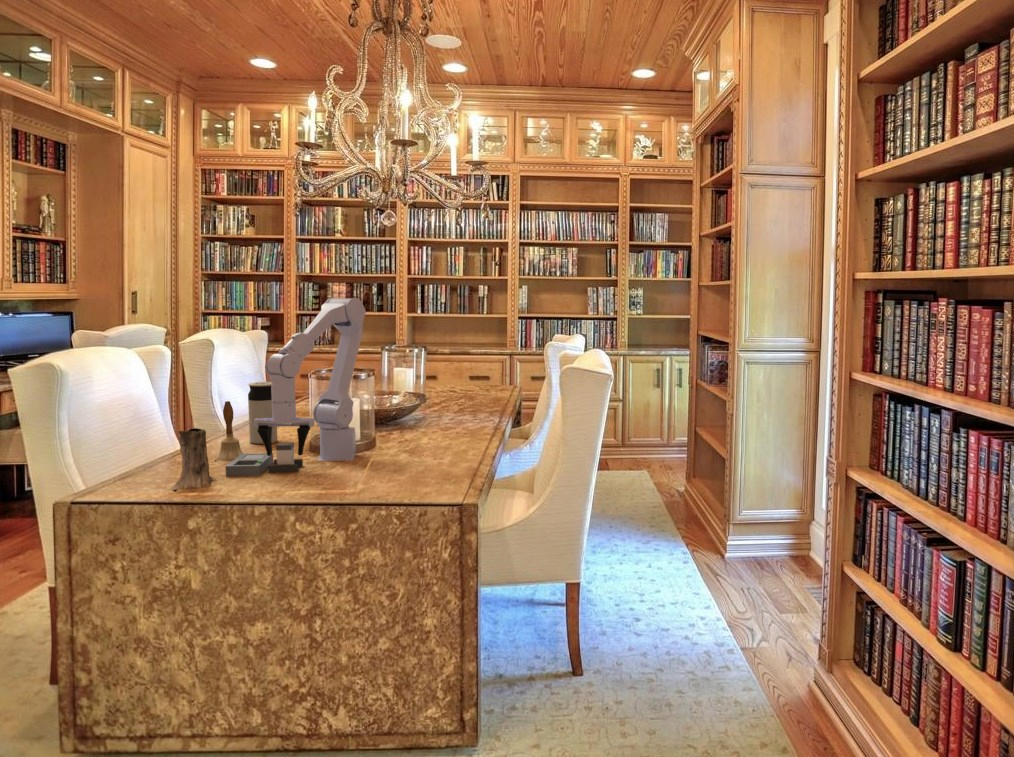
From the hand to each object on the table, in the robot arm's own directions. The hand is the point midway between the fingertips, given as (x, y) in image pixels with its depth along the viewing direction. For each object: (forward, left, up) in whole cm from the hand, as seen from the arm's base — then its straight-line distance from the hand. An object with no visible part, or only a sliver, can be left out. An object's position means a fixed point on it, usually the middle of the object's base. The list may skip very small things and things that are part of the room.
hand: (285, 454), depth 182 cm
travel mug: (+15, -38, -5) cm, 41 cm away
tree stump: (+18, +13, -5) cm, 23 cm away
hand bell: (+18, -15, -5) cm, 24 cm away
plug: (0, 0, -4) cm, 4 cm away
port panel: (+9, -1, -4) cm, 10 cm away
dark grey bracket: (0, 0, -4) cm, 4 cm away
